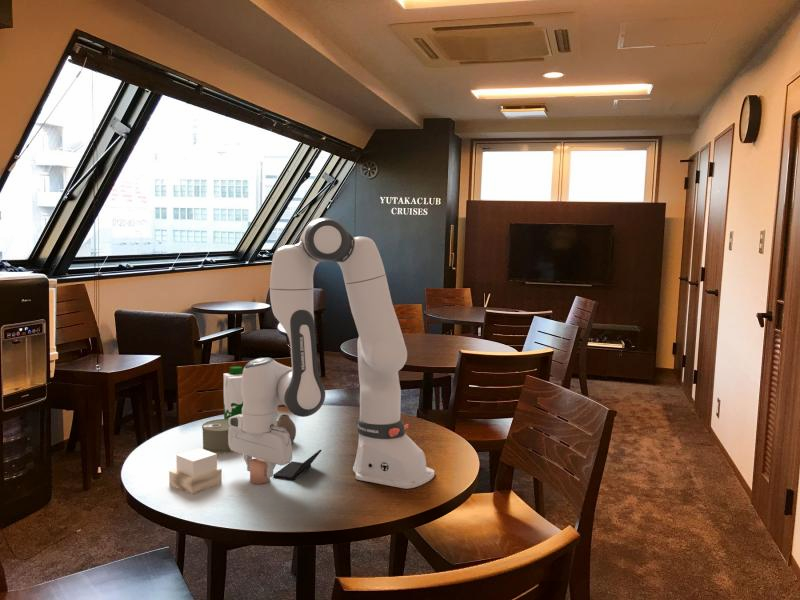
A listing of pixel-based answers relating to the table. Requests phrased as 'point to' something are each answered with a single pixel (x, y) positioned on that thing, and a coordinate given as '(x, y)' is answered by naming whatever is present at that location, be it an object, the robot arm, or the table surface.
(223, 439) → the can
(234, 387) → the milk carton
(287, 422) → the vase
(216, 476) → the tower base
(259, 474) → the peach rounded dome
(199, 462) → the tower middle
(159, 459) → the table surface
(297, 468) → the handheld gaming console
